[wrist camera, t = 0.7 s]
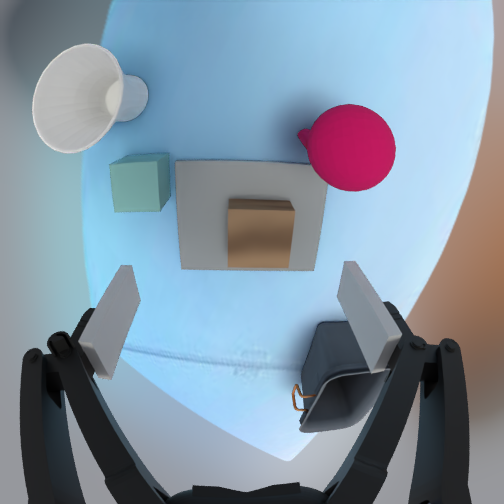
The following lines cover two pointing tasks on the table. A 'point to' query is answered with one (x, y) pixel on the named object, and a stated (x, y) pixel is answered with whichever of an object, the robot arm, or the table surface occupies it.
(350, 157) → the toy
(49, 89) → the cup
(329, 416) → the storage bin
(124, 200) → the teal brick
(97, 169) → the table surface
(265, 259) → the walnut brick
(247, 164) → the build plate
